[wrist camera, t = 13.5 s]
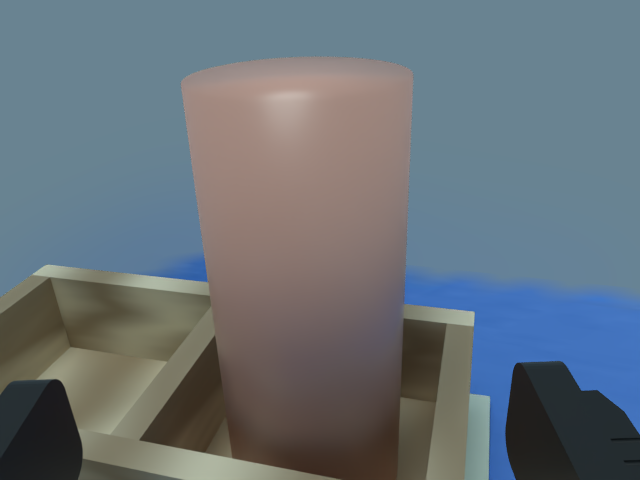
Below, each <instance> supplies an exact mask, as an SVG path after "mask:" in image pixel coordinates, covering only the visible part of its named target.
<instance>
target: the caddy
mask: <svg viewBox="0 0 640 480" xmlns="http://www.w3.org/2000/svg"><path fill="white" fill-rule="evenodd" d="M474 315H475V312H471V311H462V310H453V309H444V308H435V307H426V306H417V305H408V304H404V320H403V345H402V370H401V395H400V420H399V445H398V469H397V478H396V480H464V477H465V461H466V444H467V428H468V412H469V396H470V380H471V363H472V347H473V331H474ZM43 379H58V380H60V381H61V382H62V383H63V385H64V387H65V390H66V393H67V396H68V400H69V403H70V406H71V409H72V412H73V416H74V419H75V422H76V425H77V428H78V432H79V435H80V438H81V442H82V447H83V459H82V467H81V471H80V475H79V478H78V480H341V479H336V478H330V477H325V476H320V475H315V474H310V473H305V472H299V471H294V470H289V469H284V468H279V467H274V466H268V465H263V464H258V463H253V462H248V461H243V460H237V459H232V453H231V446H230V439H229V432H228V424H227V417H226V410H225V402H224V395H223V388H222V380H221V373H220V366H219V359H218V351H217V344H216V337H215V329H214V322H213V315H212V307H211V300H210V293H209V286H208V282H199V281H190V280H181V279H172V278H163V277H154V276H145V275H136V274H127V273H117V272H108V271H100V270H90V269H81V268H71V267H63V266H54V265H45V266H44V267H42V268H41V269H39V270H38V271H37V272H36V273H34V274H32V275H31V276H30V277H28V278H27V279H26V280H24V281H23V282H21V283H20V284H18V285H17V286H16V287H14V288H13V289H11V290H10V291H9V292H7V293H6V294H5V295H3V296H2V297H0V394H1V393H2V392H3V390H4V389H5V388H6V386H7V385H8V384H9V383H11V382H13V381H17V380H43Z"/></svg>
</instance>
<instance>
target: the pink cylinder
mask: <svg viewBox="0 0 640 480" xmlns="http://www.w3.org/2000/svg"><path fill="white" fill-rule="evenodd" d="M181 89H182V95H183V103H184V111H185V118H186V125H187V132H188V139H189V147H190V154H191V161H192V169H193V176H194V183H195V191H196V198H197V205H198V213H199V220H200V226H201V235H202V242H203V249H204V256H205V264H206V271H207V278H208V286H209V293H210V300H211V307H212V315H213V322H214V329H215V337H216V344H217V351H218V359H219V366H220V373H221V380H222V388H223V395H224V402H225V410H226V417H227V424H228V432H229V439H230V446H231V453H232V459H237V460H243V461H248V462H253V463H258V464H263V465H268V466H274V467H279V468H284V469H289V470H294V471H299V472H305V473H310V474H315V475H320V476H325V477H330V478H336V479H341V480H396V478H397V469H398V445H399V420H400V395H401V370H402V345H403V320H404V295H405V270H406V245H407V219H408V193H409V169H410V144H411V120H412V119H411V118H412V94H413V72H412V71H411V70H410V69H408V68H406V67H404V66H401V65H399V64H395V63H391V62H386V61H380V60H372V59H363V58H350V57H289V58H274V59H262V60H254V61H246V62H238V63H232V64H226V65H222V66H216V67H212V68H208V69H205V70H201V71H198V72H196V73H193V74H191V75H189V76H187V77H186V78H184V79H183V80H182V82H181Z"/></svg>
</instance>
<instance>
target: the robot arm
mask: <svg viewBox="0 0 640 480" xmlns="http://www.w3.org/2000/svg"><path fill="white" fill-rule="evenodd" d="M505 434H506V447H507V453H508V458H509V461H510V465H511V468H512V470H513V473H514V476H515V478H516V480H640V435H639V433H638V432H637V430H636V429H635V427H634V426H633V424H632V423H631V421H630V420H629V418H628V417H627V415H626V414H625V412H624V411H623V410H621V409H620V408H619V407H618V406H616V405H615V404H614V403H613V402H611V401H610V400H609V399H608V398H606V397H605V396H604V395H603V394H601V393H600V392H599V391H598V390H591V391H581V390H580V388H579V386H578V385H577V383H576V381H575V380H574V378H573V376H572V375H571V373H570V371H569V370H568V368H567V366H566V365H565V364H564V363H563V362H561V361H550V362H524V363H517V364H516V365H515V367H514V370H513V375H512V383H511V391H510V398H509V406H508V414H507V421H506V433H505ZM82 459H83V447H82V442H81V438H80V435H79V432H78V428H77V425H76V422H75V419H74V416H73V412H72V409H71V406H70V403H69V400H68V396H67V393H66V390H65V387H64V385H63V383H62V382H61V381H60V380H58V379H43V380H17V381H13V382H11V383H9V384H8V385H7V386H6V388H5V389H4V390H3V392H2V393H1V394H0V480H78V478H79V475H80V471H81V467H82Z"/></svg>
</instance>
